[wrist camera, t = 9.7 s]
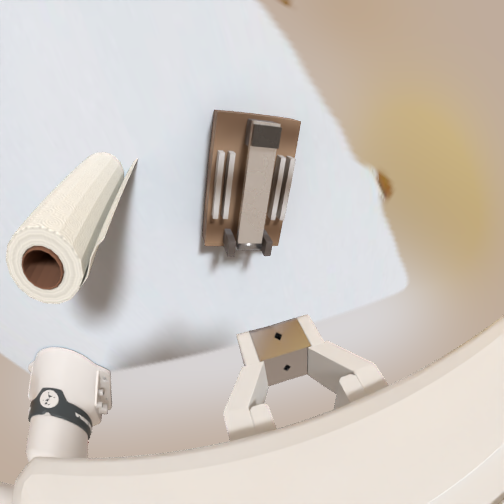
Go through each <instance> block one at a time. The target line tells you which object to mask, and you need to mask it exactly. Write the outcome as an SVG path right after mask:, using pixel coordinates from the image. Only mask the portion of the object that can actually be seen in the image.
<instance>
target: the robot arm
mask: <svg viewBox="0 0 504 504" xmlns="http://www.w3.org/2000/svg"><path fill="white" fill-rule="evenodd" d="M236 335H237V340H238V343H239V347H240V351H241V355H242V359H243V363H244V367H242V369H241V371H240V373H239V376H238V378H237V381H236V383H235V386H234V388H233V391H232V393H231V395H230V398H229V400H228V403H227V405H226V407H225V410H224V412H223V414H224V418H225V423H226V427H227V431H228V435H229V440H230V441H229V442H225V443H220V444H215V445H210V446H206V447H200V448H194V449H188V450H182V451H175V452H168V453H160V454H152V455H142V456H130V457H115V458H88V443H89V442H88V440H89V438H90V435H91V433H92V426H95V425H97V424H99V423H100V422H101V418H102V414H108V410H110V409H111V406H112V398H111V373H110V371H109V370H107V369H105V368H103V367H101V366H98V365H96V364H95V363H93V362H92V361H91V360H89V359H88V358H86V357H85V356H83V355H81V354H79V353H77V352H75V351H72V350H69V349H65V348H59V347H50V348H45V349H43V350H41V351H39V352H38V354H37V355H36V358H35V360H34V361H33V362H31V363H30V364H29V367H28V370H29V371H30V373H31V378H30V385H29V393H28V397H29V399H30V401H31V405H30V409H29V418H28V419H29V422H30V425H29V432H28V439H27V447H26V456H27V459H28V461H29V463H28V464H27V465H26V467H25V468H24V469H23V470H22V472H21V473H20V475H19V476H18V478H17V479H16V481H15V484H14V485H11V484H7V483H3V482H0V504H504V315H503V316H502V317H501V318H499V319H498V320H497V321H495V322H494V323H492V324H491V325H490V326H488V327H487V328H486V329H484V330H483V331H481V332H480V333H478V334H477V335H475V336H474V337H473V338H471V339H470V340H468V341H467V342H465V343H463V344H462V345H460V346H459V347H457V348H456V349H454V350H453V351H451V352H449V353H448V354H446V355H444V356H443V357H441V358H439V359H438V360H436V361H434V362H432V363H431V364H429V365H427V366H425V367H424V368H422V369H420V370H418V371H416V372H415V373H413V374H411V375H409V376H407V377H405V378H403V379H401V380H399V381H397V382H395V383H393V384H391V385H388V383H387V382H386V380H385V379H384V377H383V376H382V374H381V373H380V371H379V370H378V368H377V366H376V365H375V363H373V362H371V361H369V360H367V359H364V358H362V357H360V356H358V355H356V354H354V353H352V352H350V351H348V350H346V349H344V348H341V347H339V346H337V345H335V344H333V343H331V342H329V341H326V342H324V340H323V339H322V337H321V335H320V333H319V332H318V330H317V328H316V326H315V325H314V323H313V321H312V319H311V318H310V316H309V315H308V314H307V315H303V316H300V317H297V318H293V319H290V320H287V321H284V322H280V323H277V324H274V325H271V326H268V327H264V328H260V329H256V330H252V331H248V332H244V333H240V334H236ZM306 374H308V375H309V376H310V377H311V378H313V379H315V380H316V381H317V382H319V383H321V384H322V385H323V386H325V387H326V388H328V389H329V390H331V391H332V392H334V393H335V394H337V395H336V401H335V405H334V410H331V411H329V412H326V413H323V414H321V415H318V416H315V417H312V418H309V419H307V420H304V421H301V422H298V423H295V424H292V425H288V426H285V427H282V428H279V429H277V428H276V425H275V423H274V420H273V418H272V415H271V412H270V409H269V406H268V405H266V404H264V402H265V399H266V395H267V392H268V388H269V387H268V386H271V385H274V384H277V383H280V382H283V381H286V380H289V379H293V378H296V377H299V376H303V375H306Z"/></svg>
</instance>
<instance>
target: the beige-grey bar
mask: <svg viewBox="0 0 504 504" xmlns="http://www.w3.org/2000/svg"><path fill="white" fill-rule="evenodd" d="M280 125H281V124H278V123H270V122H262V121H253V120H252V123H251V131H250V138H249V145H248V153H247V160H246V168H245V176H244V183H243V191H242V199H241V207H240V215H239V223H238V231H237V239H236V250H261V247H262V237H263V231H264V225H265V219H266V213H267V207H268V200H269V194H270V188H271V182H272V175H273V169H274V163H275V157H276V150H277V149H279V144H280V137H281V131H282V127H280Z"/></svg>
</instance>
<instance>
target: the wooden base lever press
mask: <svg viewBox="0 0 504 504" xmlns="http://www.w3.org/2000/svg"><path fill="white" fill-rule="evenodd" d="M252 120H253V121H262V122H270V123H278V124H281V125H280V127H282V131H281V137H280V144H279V149H277V150H276V157H275V163H274V169H273V175H272V182H271V188H270V194H269V200H268V207H267V213H266V219H265V225H264V231H263V237H262V247H261V251H262V253H263V255H264V256H270V255H271V249H272V246H278V243H279V238H280V233H281V228H282V222H283V220H284V218H285V213H286V208H287V203H288V197H289V192H290V187H291V182H292V176H293V171H294V165H295V160H296V159H295V153H296V147H297V141H298V136H299V130H300V124H301V121H297V120H294V119H290V118H283V117H277V116H269V115H262V114H253V113H244V112H234V111H223V110H214V116H213V125H212V134H211V143H210V153H209V163H208V174H207V185H206V196H205V209H204V222H203V239H204V244H205V246H224V247H225V250H226V253H227V256H234V254H235V246H236V239H237V231H238V223H239V215H240V207H241V199H242V191H243V183H244V176H245V168H246V160H247V153H248V145H249V138H250V131H251V123H252Z"/></svg>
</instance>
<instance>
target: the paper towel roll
mask: <svg viewBox="0 0 504 504" xmlns="http://www.w3.org/2000/svg"><path fill="white" fill-rule="evenodd" d="M137 160H138V158H137V159H136V160H135V161H134V162H133V164H132V165H131V167H130V168H129V170H128V172H127V174H126V176H125V178H124V170H123V167H122V165H121V162H120V161H119V160H118V159H117V158H116V157H115V156H114V155H111V154H109V153H106V152H98V153H95V154H93V155H90V156H89V157H87V158H86V159H85V160H84V161H83V162H82V163H81V164H80V165H79V166H78V167H76V168H75V169H74V170H73V171H72V172H71V173H70V174H69V175H68V176H67V177H66V178H65V179H64V180H63V181H62V182H61V183H60V184H59V185H58V186H57V187H56V188H55V189H54V190H53V191H52V192H51V193H50V194H49V195H48V196H47V197H46V198H45V199H44V200H43V201H42V202H41V203H40V205H39V206H38V207H37V208H36V209H35V210H34V211H33V212H32V213H31V214H30V216H29V217H28V218H27V219H26V220H25V221H24V223H23V224H22V225H21V226H20V227H19V228H18V230H17V231H16V232H15V233H14V235H13V237H12V238H11V240H10V241H9V243H8V245H7V254H6V262H7V266H8V269H9V273H10V275H11V277H12V278H13V280H14V281H15V283H16V284H17V286H18V287H19V288H20V289H21V290H22V291H23V292H25V293H26V294H27V295H28V296H30V297H31V298H33V299H36V300H38V301H40V302H43V303H51V304H60V303H62V302H65V301H68V300H71V299H72V298H73V296H74V295H75V294H76V293H77V292H78V290H79V289H80V288H81V286H82V285H83V284H84V282H85V281H86V279H87V278H88V276H89V273H90V270H91V267H92V264H93V261H94V258H95V255H96V252H97V250H98V247H99V244H100V243H101V242H102V241H103V240H104V238H105V235H106V233H107V230H108V227H109V225H110V222H111V220H112V217H113V215H114V212H115V210H116V207H117V205H118V202H119V200H120V197H121V195H122V193H123V190H124V188H125V186H126V184H127V181H128V179H129V177H130V175H131V172H132V170H133V168H134V166H135V164H136V162H137Z"/></svg>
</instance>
